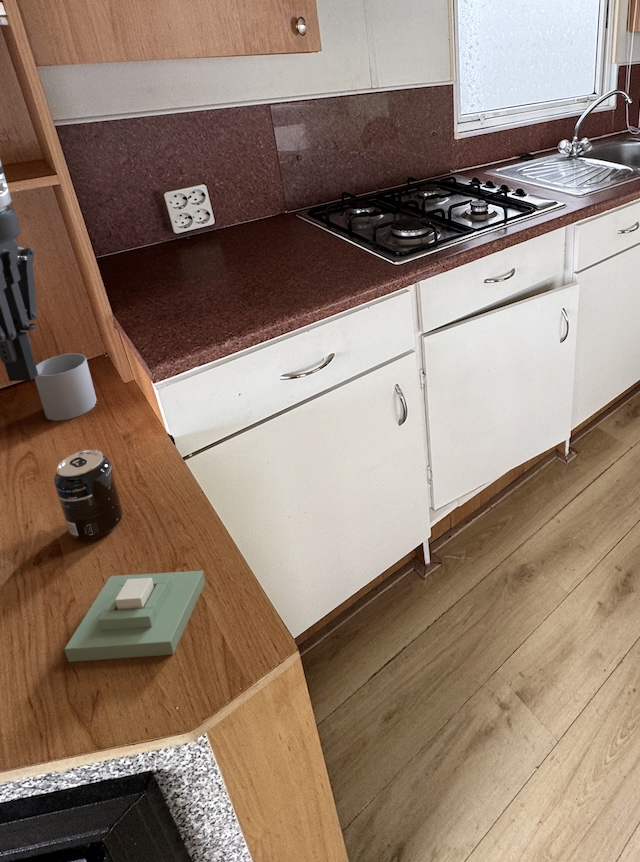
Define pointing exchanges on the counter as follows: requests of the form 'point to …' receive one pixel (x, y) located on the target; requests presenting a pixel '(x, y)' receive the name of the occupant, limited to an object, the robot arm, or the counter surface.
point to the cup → (65, 386)
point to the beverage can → (88, 494)
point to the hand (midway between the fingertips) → (24, 377)
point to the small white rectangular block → (134, 594)
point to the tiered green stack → (137, 619)
